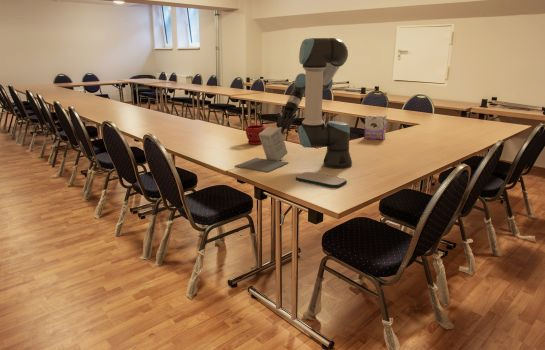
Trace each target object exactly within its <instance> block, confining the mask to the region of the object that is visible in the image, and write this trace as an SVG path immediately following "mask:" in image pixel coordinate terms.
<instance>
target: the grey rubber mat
mask: <svg viewBox="0 0 545 350" xmlns="http://www.w3.org/2000/svg"><path fill="white" fill-rule="evenodd" d="M288 164H289V162H288V161H280V160H279V161H275V160H269V159H267V158H259V157H254V158H252V159H249V160H247V161H244V162H241V163H238V164H236V165H234V168H240V169H246V170H252V171H256V172H262V171H263V173H270V172H272V171H275V170H277V169H280V168H281V167H284V166H286V165H288Z"/></svg>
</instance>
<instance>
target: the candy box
mask: <svg viewBox="0 0 545 350" xmlns="http://www.w3.org/2000/svg"><path fill="white" fill-rule="evenodd" d="M386 130H387V115H381V114H367V115H365V116H364V131H363V132H364V133H363V136H364V137H363V139H365V140H367V139H368V140H379V141H384V140H385V139H386V133H387V132H386Z"/></svg>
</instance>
